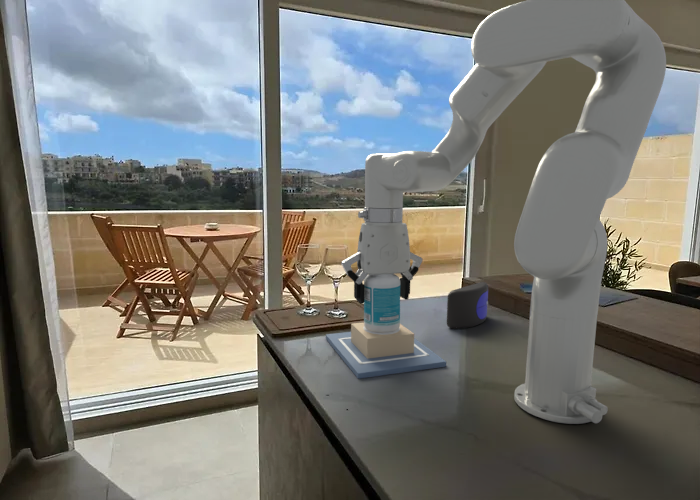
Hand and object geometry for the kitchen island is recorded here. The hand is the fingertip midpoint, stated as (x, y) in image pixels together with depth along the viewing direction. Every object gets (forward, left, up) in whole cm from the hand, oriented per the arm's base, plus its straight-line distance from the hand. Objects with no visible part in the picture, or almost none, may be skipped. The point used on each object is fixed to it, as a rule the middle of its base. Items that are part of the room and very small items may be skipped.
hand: (382, 299), depth 96 cm
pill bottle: (0, 0, -6) cm, 6 cm away
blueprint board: (0, 0, -11) cm, 11 cm away
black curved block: (+12, -28, -11) cm, 33 cm away
